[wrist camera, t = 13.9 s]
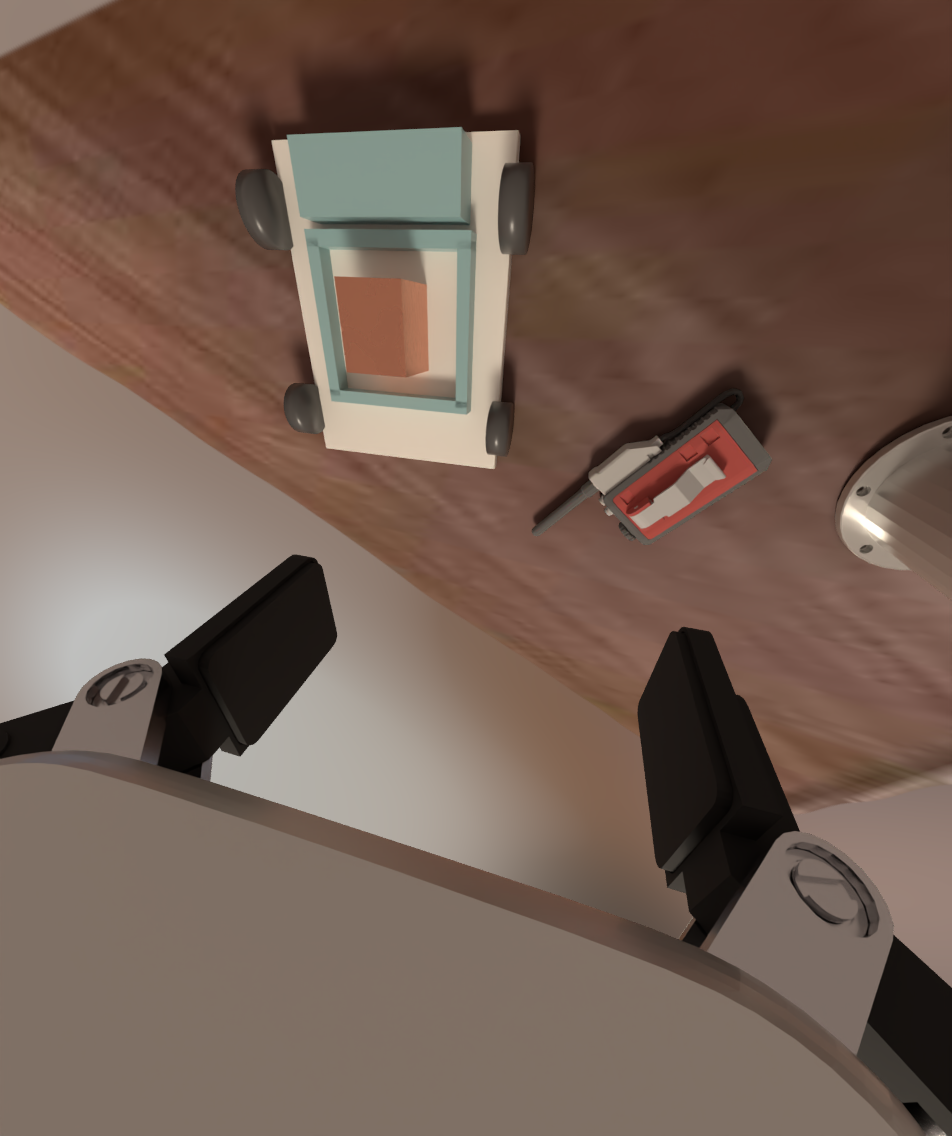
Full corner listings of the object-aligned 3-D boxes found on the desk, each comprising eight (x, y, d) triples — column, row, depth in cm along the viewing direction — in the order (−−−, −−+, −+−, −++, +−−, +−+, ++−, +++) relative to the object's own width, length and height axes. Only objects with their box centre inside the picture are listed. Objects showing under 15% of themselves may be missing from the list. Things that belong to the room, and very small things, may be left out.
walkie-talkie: (715, 363, 29) (527, 521, 40) (733, 369, 25) (521, 541, 36) (779, 446, 30) (583, 575, 41) (804, 462, 27) (582, 599, 38)
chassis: (540, 135, 24) (532, 103, 21) (509, 467, 37) (500, 483, 33) (265, 146, 28) (218, 120, 24) (320, 444, 40) (294, 455, 37)
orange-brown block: (426, 284, 29) (400, 278, 25) (428, 370, 33) (406, 377, 29) (368, 282, 30) (334, 276, 26) (376, 366, 34) (346, 372, 30)
